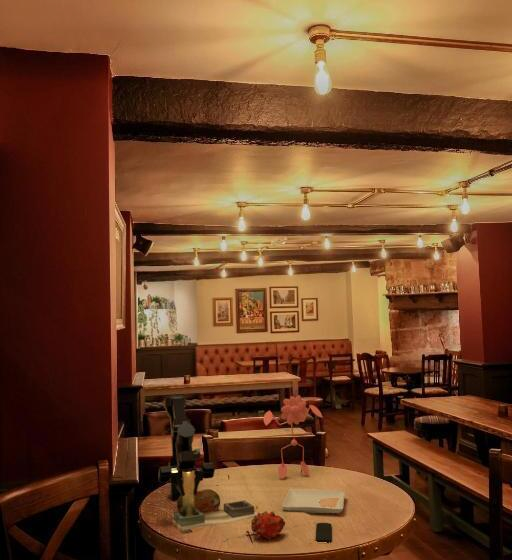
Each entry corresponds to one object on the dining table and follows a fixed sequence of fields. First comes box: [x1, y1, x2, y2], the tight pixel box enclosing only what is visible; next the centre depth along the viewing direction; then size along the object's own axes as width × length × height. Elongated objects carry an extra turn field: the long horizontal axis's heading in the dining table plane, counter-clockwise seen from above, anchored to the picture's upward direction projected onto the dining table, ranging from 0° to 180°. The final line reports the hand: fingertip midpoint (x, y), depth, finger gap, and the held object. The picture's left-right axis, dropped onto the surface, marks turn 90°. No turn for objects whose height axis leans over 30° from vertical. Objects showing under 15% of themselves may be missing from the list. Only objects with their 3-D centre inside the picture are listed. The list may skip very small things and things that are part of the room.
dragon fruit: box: [250, 510, 286, 541], centre depth 176 cm, size 8×8×12 cm
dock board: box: [171, 499, 258, 534], centre depth 193 cm, size 12×28×4 cm, turn 115°
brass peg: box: [182, 470, 195, 516], centre depth 190 cm, size 4×4×14 cm
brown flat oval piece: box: [176, 488, 221, 514], centre depth 199 cm, size 15×3×8 cm, turn 105°
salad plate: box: [281, 488, 346, 515], centre depth 206 cm, size 21×21×3 cm
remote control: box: [315, 522, 333, 544], centre depth 178 cm, size 5×2×15 cm
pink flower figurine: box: [263, 395, 323, 480], centre depth 243 cm, size 15×26×35 cm, turn 107°
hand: (189, 495), depth 189 cm, fingers closed on brass peg, 4 cm apart
